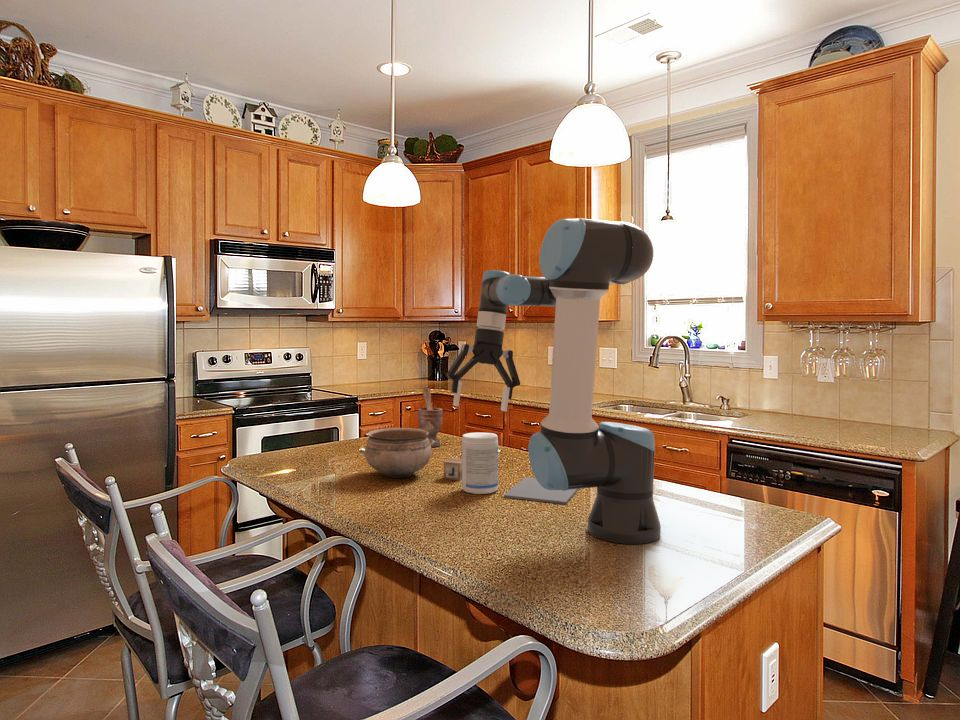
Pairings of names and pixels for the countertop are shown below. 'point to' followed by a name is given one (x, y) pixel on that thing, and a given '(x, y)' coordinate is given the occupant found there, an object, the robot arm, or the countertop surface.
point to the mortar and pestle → (430, 418)
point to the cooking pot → (398, 451)
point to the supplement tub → (480, 463)
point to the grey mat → (539, 492)
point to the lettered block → (453, 469)
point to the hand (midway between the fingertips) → (480, 408)
